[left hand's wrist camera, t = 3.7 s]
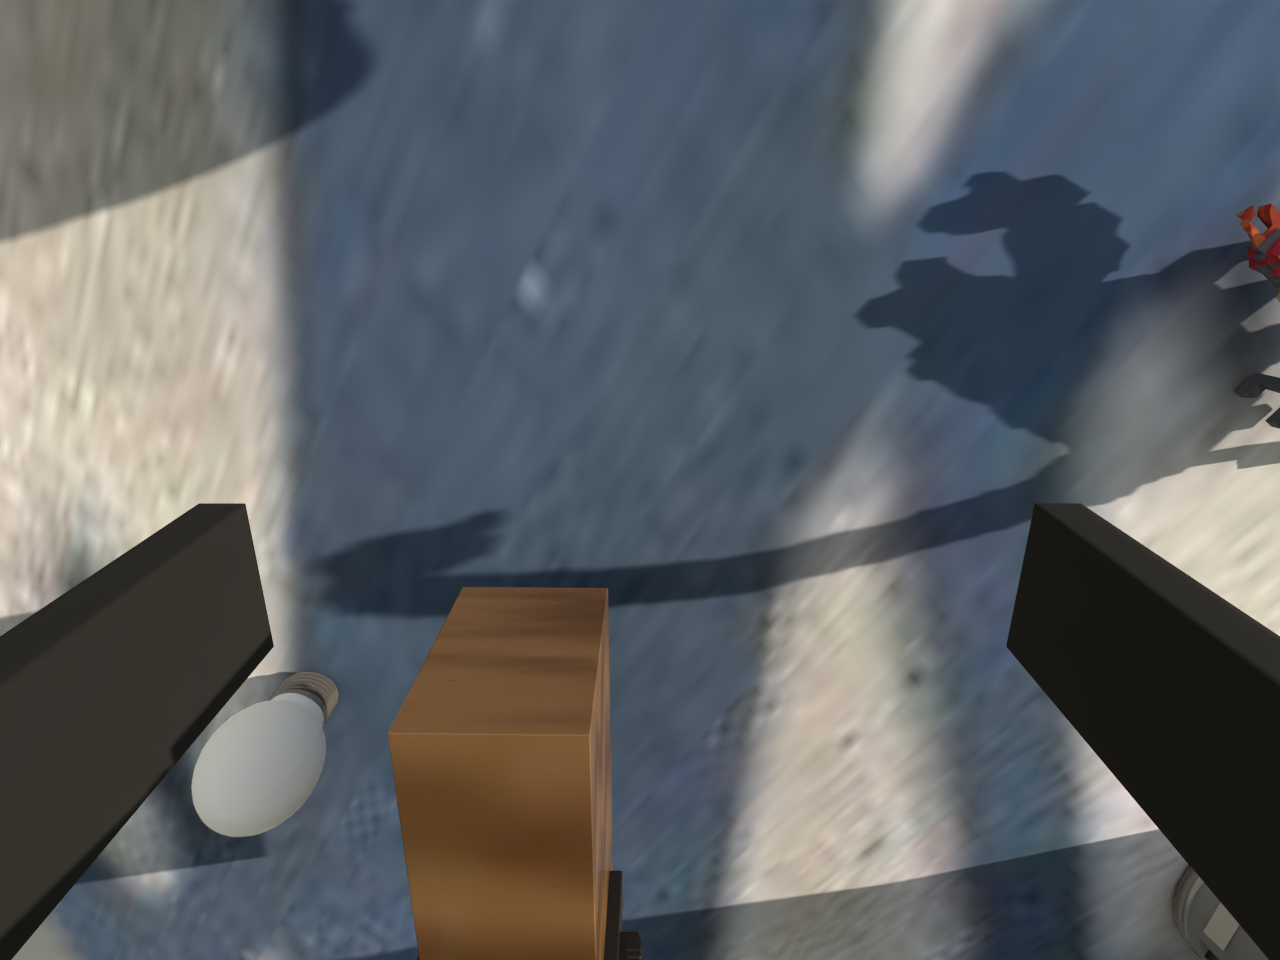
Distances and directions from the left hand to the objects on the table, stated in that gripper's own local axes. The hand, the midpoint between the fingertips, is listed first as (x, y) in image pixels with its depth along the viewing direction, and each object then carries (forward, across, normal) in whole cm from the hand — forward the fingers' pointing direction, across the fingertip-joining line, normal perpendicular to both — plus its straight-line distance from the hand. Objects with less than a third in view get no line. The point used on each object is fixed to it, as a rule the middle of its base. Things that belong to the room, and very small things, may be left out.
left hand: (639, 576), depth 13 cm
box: (+24, -6, -24) cm, 35 cm away
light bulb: (+31, -23, -25) cm, 46 cm away
